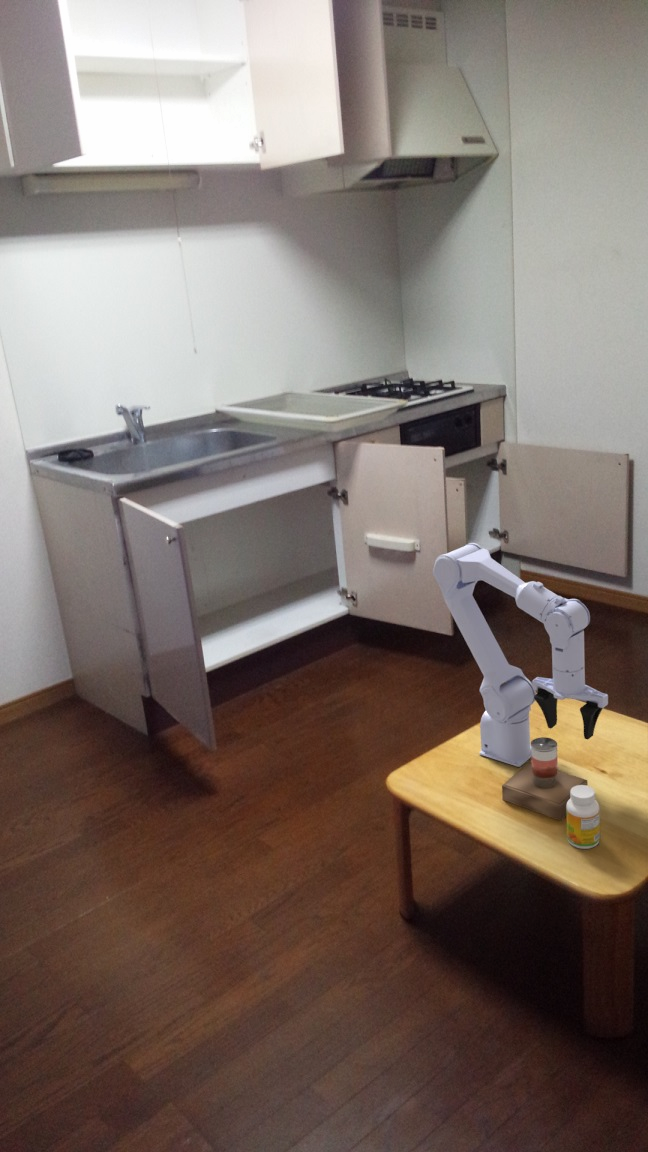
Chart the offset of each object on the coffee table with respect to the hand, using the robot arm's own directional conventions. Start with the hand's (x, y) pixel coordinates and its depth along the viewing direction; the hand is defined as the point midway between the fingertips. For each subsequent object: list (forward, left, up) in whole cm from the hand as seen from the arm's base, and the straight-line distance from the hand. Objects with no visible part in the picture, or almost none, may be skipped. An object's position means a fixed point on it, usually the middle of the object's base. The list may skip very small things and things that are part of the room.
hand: (570, 731), depth 169 cm
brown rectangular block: (-1, -9, -10) cm, 13 cm away
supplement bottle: (+11, -16, -10) cm, 22 cm away
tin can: (-1, -8, -7) cm, 11 cm away
